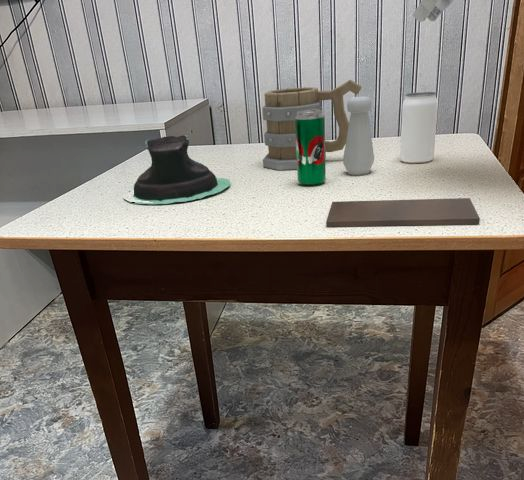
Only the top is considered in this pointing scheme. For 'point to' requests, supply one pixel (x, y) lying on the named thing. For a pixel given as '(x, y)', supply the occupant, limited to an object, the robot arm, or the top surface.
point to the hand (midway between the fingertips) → (423, 19)
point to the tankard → (283, 121)
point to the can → (418, 127)
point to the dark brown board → (402, 213)
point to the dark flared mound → (175, 174)
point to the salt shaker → (358, 138)
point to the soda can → (310, 147)
